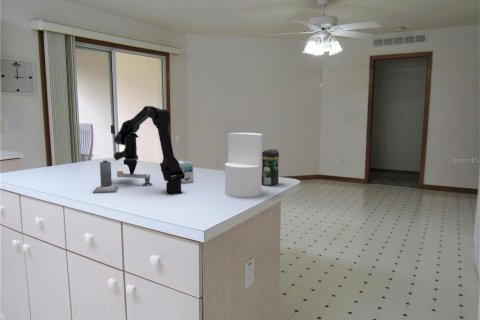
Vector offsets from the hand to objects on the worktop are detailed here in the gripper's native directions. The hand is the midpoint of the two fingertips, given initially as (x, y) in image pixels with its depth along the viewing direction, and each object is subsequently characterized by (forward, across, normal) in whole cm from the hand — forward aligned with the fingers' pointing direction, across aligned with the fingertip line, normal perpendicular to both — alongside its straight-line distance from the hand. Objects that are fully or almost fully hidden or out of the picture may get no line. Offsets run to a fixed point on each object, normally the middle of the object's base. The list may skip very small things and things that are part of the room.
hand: (131, 175), depth 183 cm
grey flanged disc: (+4, +8, +8) cm, 12 cm away
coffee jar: (+4, +18, +71) cm, 73 cm away
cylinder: (+4, +33, +52) cm, 62 cm away
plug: (+3, +16, -11) cm, 19 cm away
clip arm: (0, +5, +1) cm, 5 cm away
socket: (+4, +16, -11) cm, 20 cm away
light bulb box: (+4, +2, +26) cm, 27 cm away
